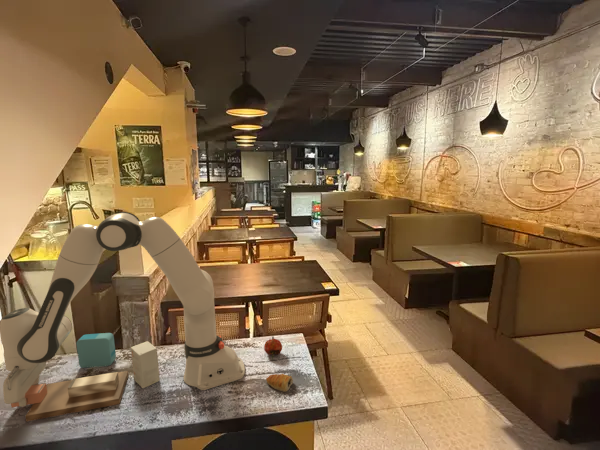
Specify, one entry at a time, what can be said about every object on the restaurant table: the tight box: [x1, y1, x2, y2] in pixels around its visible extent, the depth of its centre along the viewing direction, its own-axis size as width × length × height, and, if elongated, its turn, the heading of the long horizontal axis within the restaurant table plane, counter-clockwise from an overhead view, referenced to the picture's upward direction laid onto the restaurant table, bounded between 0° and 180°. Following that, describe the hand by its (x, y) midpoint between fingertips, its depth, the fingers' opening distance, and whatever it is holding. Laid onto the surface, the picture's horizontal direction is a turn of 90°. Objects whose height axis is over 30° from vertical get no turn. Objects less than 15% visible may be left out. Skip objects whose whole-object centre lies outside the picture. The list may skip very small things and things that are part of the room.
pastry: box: [265, 373, 294, 393], centre depth 121 cm, size 9×7×4 cm
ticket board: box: [24, 370, 129, 422], centre depth 115 cm, size 26×16×6 cm, turn 107°
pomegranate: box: [263, 335, 283, 361], centre depth 139 cm, size 7×7×10 cm
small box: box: [130, 340, 161, 389], centre depth 123 cm, size 8×6×13 cm
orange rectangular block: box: [10, 382, 48, 408], centre depth 110 cm, size 8×5×4 cm, turn 107°
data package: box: [75, 332, 117, 369], centre depth 133 cm, size 12×4×12 cm, turn 97°
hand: (29, 397), depth 111 cm, fingers open, 6 cm apart
